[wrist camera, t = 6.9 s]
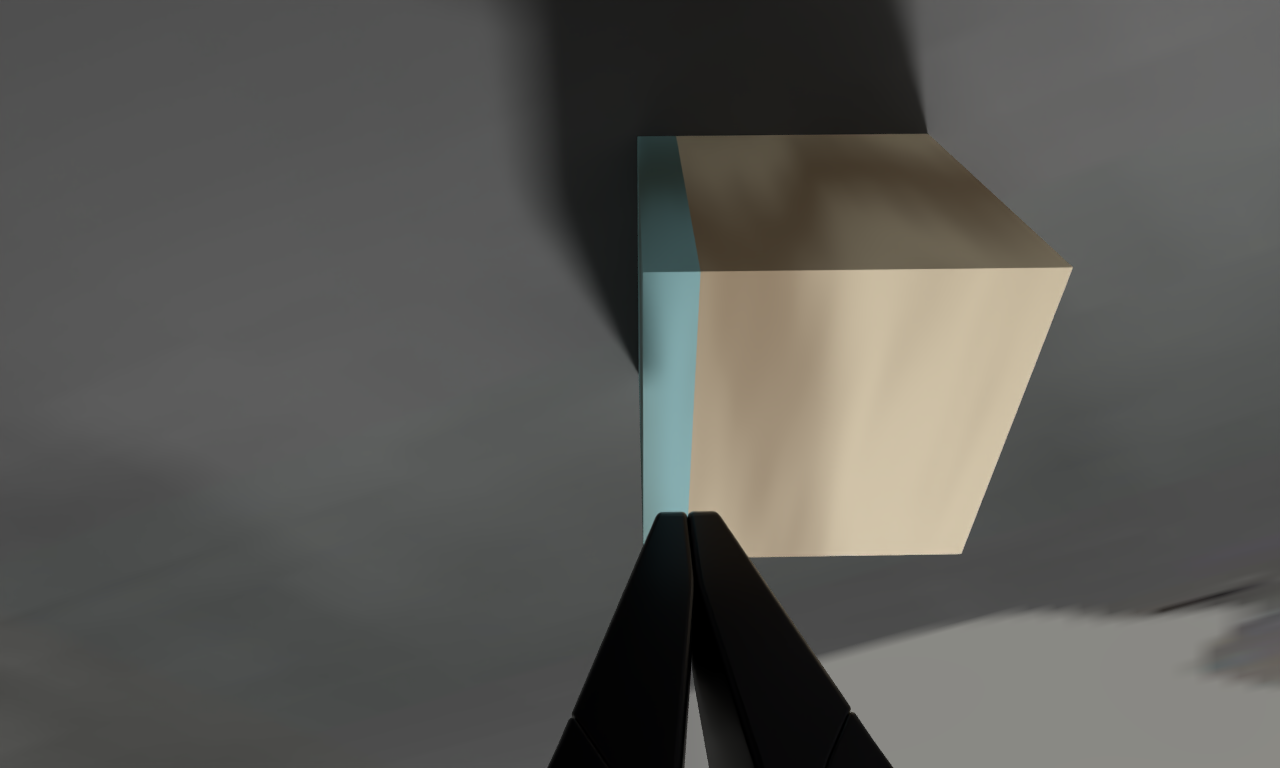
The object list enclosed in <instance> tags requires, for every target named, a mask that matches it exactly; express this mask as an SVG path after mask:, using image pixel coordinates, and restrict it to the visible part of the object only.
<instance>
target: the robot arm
mask: <svg viewBox="0 0 1280 768" xmlns="http://www.w3.org/2000/svg"><path fill="white" fill-rule="evenodd" d="M691 662H692V672H693V678H694V685H695V691H696V697H697V702H698V707H699V713H700V719H701V725H702V730H703V736H704V741H705V747H706V753H707V759H708V763H709V768H893V767H892V766H891V764H890V763H889V761H888V760H887V758H886V757H885V756H884V754H883V753H882V751H881V750H880V749H879V747H878V746H877V745H876V743H875V742H874V741H873V739H872V738H871V736H870V735H869V733H868V732H867V730H866V729H865V727H864V726H863V724H862V723H861V721H860V720H859V719H858V717H857V716H856V714H855V713H853V712H851V713H850V710H851V708H850V706H849V704H848V703H847V701H846V700H845V698H844V697H843V695H842V694H841V692H840V691H839V690H838V688H837V686H836V685H835V684H834V682H833V681H832V679H831V678H830V676H829V675H828V673H827V672H826V670H825V669H824V667H823V666H822V665H821V663H820V661H819V660H818V659H817V657H816V656H815V654H814V653H813V651H812V650H811V648H810V647H809V645H808V644H807V642H806V641H805V639H804V638H803V636H802V635H801V634H800V632H799V631H798V629H797V628H796V626H795V625H794V623H793V622H792V620H791V619H790V617H789V616H788V614H787V613H786V612H785V610H784V609H783V607H782V606H781V604H780V603H779V601H778V600H777V598H776V597H775V595H774V594H773V592H772V591H771V589H770V588H769V587H768V585H767V584H766V582H765V581H764V579H763V578H762V576H761V575H760V573H759V572H758V570H757V569H756V567H755V566H754V564H753V563H752V562H751V560H750V559H749V557H748V556H747V554H746V553H745V551H744V550H743V548H742V547H741V545H740V544H739V542H738V541H737V539H736V538H735V537H734V535H733V534H732V532H731V531H730V529H729V528H728V526H727V525H726V523H725V522H724V520H723V519H722V517H721V516H720V515H719V514H718V513H717V512H715V511H692V512H690V513H689V514H688V516H687V514H686V513H685V512H660V513H658V514H657V515H656V517H655V519H654V522H653V524H652V526H651V529H650V531H649V533H648V536H647V538H646V540H645V543H644V545H643V547H642V550H641V552H640V555H639V557H638V559H637V562H636V564H635V566H634V569H633V571H632V573H631V576H630V578H629V580H628V583H627V585H626V587H625V590H624V592H623V594H622V597H621V599H620V602H619V604H618V606H617V609H616V611H615V613H614V616H613V618H612V620H611V623H610V625H609V627H608V630H607V632H606V634H605V637H604V639H603V641H602V644H601V646H600V648H599V651H598V653H597V656H596V658H595V660H594V663H593V665H592V667H591V670H590V672H589V674H588V677H587V679H586V681H585V684H584V686H583V688H582V691H581V693H580V695H579V698H578V700H577V703H576V705H575V707H574V710H573V712H572V718H570V719H569V720H568V723H567V725H566V727H565V730H564V732H563V734H562V737H561V739H560V741H559V744H558V746H557V748H556V750H555V753H554V755H553V757H552V759H551V761H550V763H549V765H548V768H684V767H685V753H686V738H687V723H688V708H689V694H690V677H691Z"/></svg>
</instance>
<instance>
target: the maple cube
mask: <svg viewBox="0 0 1280 768" xmlns="http://www.w3.org/2000/svg"><path fill="white" fill-rule="evenodd" d="M637 171H638V332H639V403H640V443H641V482H642V522H643V545H644V543H645V540H646V538H647V536H648V533H649V531H650V529H651V526H652V524H653V522H654V519H655V517H656V515H657V514H658V513H660V512H685V513H686V514H687V516H688V514H689V513H690V512H692V511H715V512H717V513H718V514H719V515H720V516H721V517H722V519H723V520H724V522H725V523H726V525H727V526H728V528H729V529H730V531H731V532H732V534H733V535H734V537H735V538H736V539H737V541H738V542H739V544H740V545H741V547H742V548H743V550H744V551H745V553H746V554H747V556H748V557H797V556H862V555H928V554H961V553H962V550H963V548H964V545H965V543H966V540H967V538H968V535H969V532H970V530H971V527H972V525H973V522H974V520H975V517H976V515H977V512H978V509H979V507H980V504H981V502H982V499H983V497H984V494H985V491H986V489H987V486H988V484H989V481H990V479H991V476H992V474H993V471H994V468H995V466H996V463H997V461H998V458H999V456H1000V453H1001V450H1002V448H1003V445H1004V443H1005V440H1006V438H1007V435H1008V433H1009V430H1010V427H1011V425H1012V422H1013V420H1014V417H1015V415H1016V412H1017V409H1018V407H1019V404H1020V402H1021V399H1022V397H1023V394H1024V392H1025V389H1026V386H1027V384H1028V381H1029V379H1030V376H1031V374H1032V371H1033V368H1034V366H1035V363H1036V361H1037V358H1038V356H1039V353H1040V351H1041V348H1042V345H1043V343H1044V340H1045V338H1046V335H1047V333H1048V330H1049V327H1050V325H1051V322H1052V320H1053V317H1054V315H1055V312H1056V310H1057V307H1058V304H1059V302H1060V299H1061V297H1062V294H1063V292H1064V289H1065V286H1066V284H1067V281H1068V279H1069V276H1070V274H1071V271H1072V269H1073V267H1072V266H1071V265H1070V264H1069V263H1068V262H1066V261H1065V260H1064V259H1063V258H1062V257H1061V256H1060V255H1059V254H1058V253H1057V252H1056V251H1054V250H1053V249H1052V248H1051V247H1050V246H1049V245H1048V244H1047V243H1046V242H1045V241H1044V240H1043V239H1041V238H1040V237H1039V236H1038V235H1037V234H1036V233H1035V232H1034V231H1033V230H1032V229H1031V228H1030V227H1028V226H1027V225H1026V224H1025V223H1024V222H1023V221H1022V220H1021V219H1020V218H1019V217H1018V216H1017V215H1015V214H1014V213H1013V212H1012V211H1011V210H1010V209H1009V208H1008V207H1007V206H1006V205H1005V204H1003V203H1002V202H1001V201H1000V200H999V199H998V198H997V197H996V196H995V195H994V194H993V193H992V192H990V191H989V190H988V189H987V188H986V187H985V186H984V185H983V184H982V183H981V182H980V181H979V180H977V179H976V178H975V177H974V176H973V175H972V174H971V173H970V172H969V171H968V170H967V169H966V168H964V167H963V166H962V165H961V164H960V163H959V162H958V161H957V160H956V159H955V158H954V157H953V156H951V155H950V154H949V153H948V152H947V151H946V150H945V149H944V148H943V147H942V146H941V145H939V144H938V143H937V142H936V141H935V140H934V139H933V138H932V137H931V136H930V135H929V134H847V135H736V136H637Z"/></svg>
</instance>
